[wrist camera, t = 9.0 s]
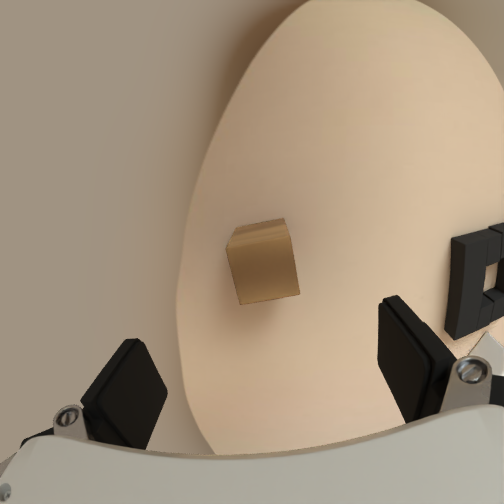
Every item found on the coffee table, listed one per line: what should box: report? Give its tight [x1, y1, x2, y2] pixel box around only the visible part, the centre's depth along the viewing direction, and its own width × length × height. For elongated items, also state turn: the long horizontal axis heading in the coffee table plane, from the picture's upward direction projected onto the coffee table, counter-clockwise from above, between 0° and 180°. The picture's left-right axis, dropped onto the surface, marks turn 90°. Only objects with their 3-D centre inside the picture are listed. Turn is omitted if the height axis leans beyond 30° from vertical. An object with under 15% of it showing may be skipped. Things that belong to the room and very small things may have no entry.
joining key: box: [226, 218, 300, 305], centre depth 20 cm, size 4×4×6 cm
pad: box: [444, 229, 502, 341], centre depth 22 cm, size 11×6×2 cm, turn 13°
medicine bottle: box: [468, 332, 504, 376], centre depth 20 cm, size 7×7×12 cm
